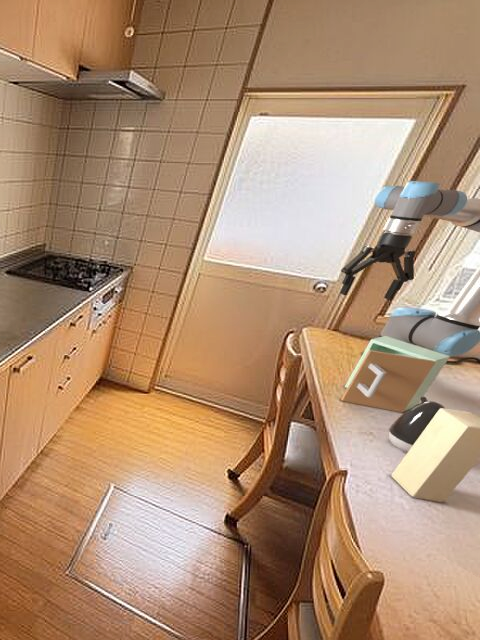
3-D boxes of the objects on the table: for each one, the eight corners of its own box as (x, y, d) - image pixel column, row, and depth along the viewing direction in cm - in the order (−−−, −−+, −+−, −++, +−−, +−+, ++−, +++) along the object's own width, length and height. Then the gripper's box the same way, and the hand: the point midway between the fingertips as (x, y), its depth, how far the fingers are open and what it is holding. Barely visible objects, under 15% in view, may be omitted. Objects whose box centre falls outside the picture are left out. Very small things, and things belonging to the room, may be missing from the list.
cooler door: (415, 423, 132) (450, 371, 123) (351, 410, 136) (381, 359, 127) (401, 411, 138) (434, 360, 130) (341, 399, 143) (368, 349, 134)
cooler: (402, 411, 138) (436, 360, 130) (344, 387, 152) (371, 339, 143) (416, 406, 142) (450, 356, 134) (358, 382, 156) (385, 335, 147)
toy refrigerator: (447, 504, 99) (506, 432, 90) (412, 498, 100) (467, 426, 91) (422, 481, 106) (474, 412, 97) (390, 475, 107) (438, 407, 98)
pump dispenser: (416, 441, 122) (447, 397, 115) (439, 463, 114) (474, 417, 107) (375, 433, 125) (402, 389, 118) (393, 453, 116) (425, 407, 109)
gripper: (360, 231, 134) (330, 295, 144) (452, 239, 130) (414, 304, 140) (347, 228, 141) (319, 289, 150) (434, 235, 136) (399, 297, 146)
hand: (365, 296), depth 145 cm, fingers open, 13 cm apart
